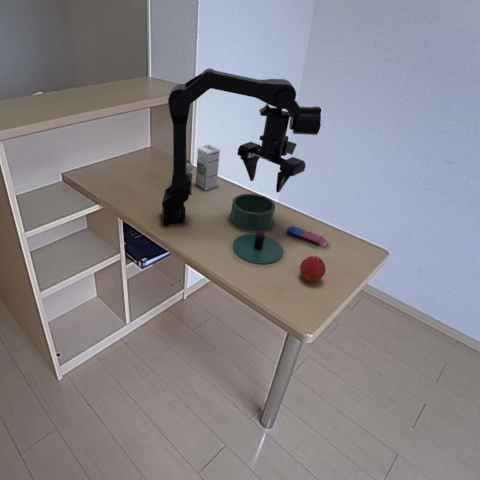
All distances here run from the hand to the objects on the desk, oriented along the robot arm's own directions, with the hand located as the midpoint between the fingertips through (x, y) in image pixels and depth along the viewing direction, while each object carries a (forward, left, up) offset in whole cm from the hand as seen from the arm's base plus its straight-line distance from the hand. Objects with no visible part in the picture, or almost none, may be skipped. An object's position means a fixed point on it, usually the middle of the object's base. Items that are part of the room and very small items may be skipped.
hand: (264, 186), depth 106 cm
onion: (+3, -26, -14) cm, 30 cm away
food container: (-17, +28, -14) cm, 35 cm away
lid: (-5, -12, -13) cm, 18 cm away
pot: (-1, +3, -14) cm, 14 cm away
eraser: (+11, -9, -14) cm, 20 cm away
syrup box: (-8, +29, -14) cm, 33 cm away
